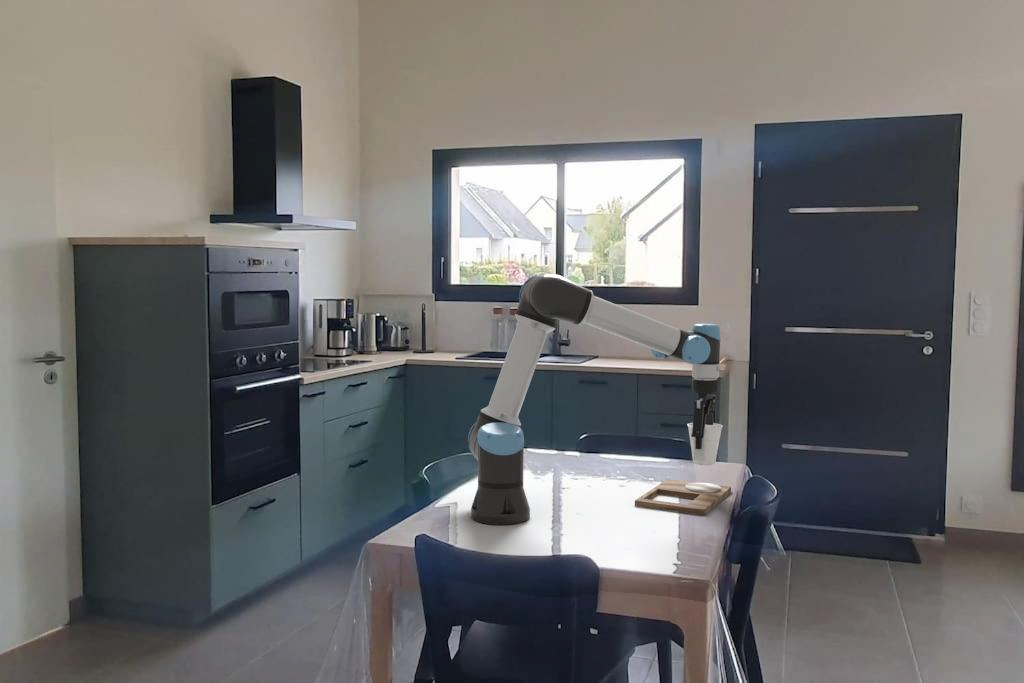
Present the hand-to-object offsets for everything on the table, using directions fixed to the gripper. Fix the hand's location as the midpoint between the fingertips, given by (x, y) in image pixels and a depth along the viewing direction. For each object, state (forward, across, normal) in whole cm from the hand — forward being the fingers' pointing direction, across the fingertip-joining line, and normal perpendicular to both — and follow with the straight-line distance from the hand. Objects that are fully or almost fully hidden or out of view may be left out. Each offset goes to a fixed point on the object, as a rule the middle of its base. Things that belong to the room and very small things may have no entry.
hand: (704, 456), depth 249 cm
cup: (+2, 0, 0) cm, 2 cm away
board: (+11, -8, +3) cm, 14 cm away
